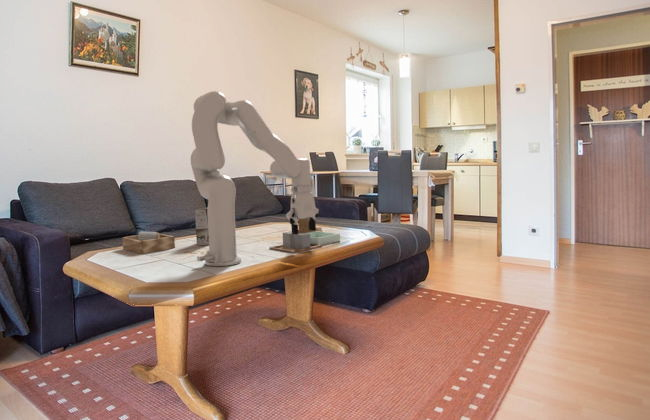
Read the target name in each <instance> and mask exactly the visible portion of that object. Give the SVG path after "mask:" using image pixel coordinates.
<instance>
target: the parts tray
mask: <svg viewBox="0 0 650 420" xmlns="http://www.w3.org/2000/svg"><path fill="white" fill-rule="evenodd" d="M322 247H323V245H318V244H311V243H310V247H308V248H304V249H299V250H297V249H295V247H294V248H285V247H283V244H279V245H273V246H269V248H268V249H269V250H271V251H276V252H283V253H289V254H299V253H301V252H305V251H310V250H311V251H312V250H314V249H315V250H316V249H319V248H322Z"/></svg>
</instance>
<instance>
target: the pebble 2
mask: <svg viewBox="0 0 650 420" xmlns="http://www.w3.org/2000/svg"><path fill="white" fill-rule="evenodd" d="M308 247H310V234H306V233H300V234H297V235H296V234H295V249H297V250H299V249H304V248H308Z"/></svg>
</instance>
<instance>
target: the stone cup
mask: <svg viewBox="0 0 650 420" xmlns="http://www.w3.org/2000/svg"><path fill="white" fill-rule="evenodd" d="M317 219H318V218H316V221H315V227H316V230H315V231H321V232H324V231H323V229H322V227H321V226H320V227H317V225H316V224H317ZM309 220H310V219H309V218H305V219H299V220H298V222H297V224H298V234H300V233H309V232H314V231H313V230H309Z"/></svg>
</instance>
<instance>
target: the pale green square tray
mask: <svg viewBox="0 0 650 420" xmlns="http://www.w3.org/2000/svg"><path fill="white" fill-rule="evenodd" d="M306 234H310V243H311V244H318V245H322V246H325V245H329V244H333V243H341V234H340V233H336V232H327V231H323V232H321V231H314V232H309V233H306Z"/></svg>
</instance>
